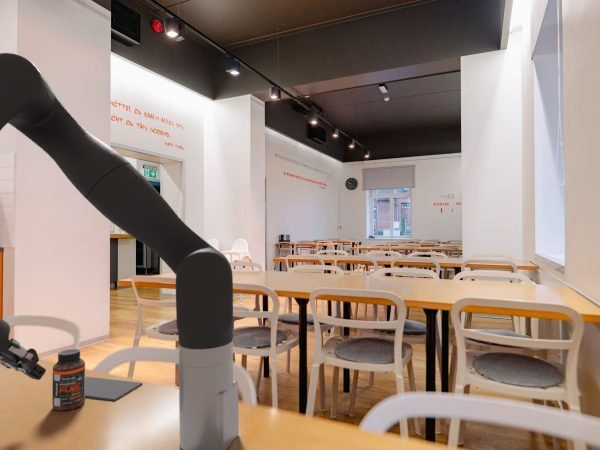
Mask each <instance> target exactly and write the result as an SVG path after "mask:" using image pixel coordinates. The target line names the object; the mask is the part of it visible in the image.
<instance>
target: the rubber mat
mask: <svg viewBox="0 0 600 450" xmlns="http://www.w3.org/2000/svg"><path fill="white" fill-rule="evenodd" d="M142 385H143V382H138V381H130V380H129V381H128V380H121V379H110V378H102V377H94V376H93V377H92V376H91V377H90V376H85V398H88V399H96V400H104V401H112V402H116V401H117V400H119V399H120V398H123V397H124V396H127V395H128V394H129V393H131V392H133V391H134V390H136V389H137V388H139V387H141V386H142Z"/></svg>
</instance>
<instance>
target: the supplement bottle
mask: <svg viewBox="0 0 600 450" xmlns="http://www.w3.org/2000/svg"><path fill="white" fill-rule="evenodd" d="M85 377H86V362H85V360H84V359H82V358H81V350H80V349H77V348H74V349H73V348H70V349H65V350H62V351H61V350H60V351H59V352H58V354H57V362H55V363H54V365H53V366H52V402H51V403H52V408H53V410H55V411H59V412H62V411H63V412H64V411H70V410H73V409H77V408H79V407H81V406H82V405H83V404H84V403H85V402H86V397H85Z"/></svg>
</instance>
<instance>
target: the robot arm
mask: <svg viewBox="0 0 600 450" xmlns="http://www.w3.org/2000/svg"><path fill="white" fill-rule="evenodd" d="M7 124H9V125H10V126H12V127H13V128H14V129H16V130H17V131H19V132H20V133H21V134H22V135H24V136H26V137H27V139H30V141H32V142H33V143H34V144H35V145H36V146H38V147H39V148H40V149H41V150H43V151H44V152H45V153H46V154H47V155H48V156H49V157H50V158H51V159H52V160H53V161H54V163H56V165H57V167H59V169H60V171H62V173H63V174H64V175H65V177H66V178H67V180H69V182H70V183H71V184H72V186H73V187H74V188H75V189H76V190H77V191H78V192H79V193H80V194H81V195H82V196H83V198H85V199H86V200H87V201H88V202H89V203H90V204H91V205H92V206H93V207H94V208H95V209H96V210H97V211H98V212H99V213H101V214H102V216H104V217H105V218H106V219H107V220H109V221H110V222H111V224H114V225H115V226H116V227H118V228H119V229H120V230H122V231H124V232H125V233H127V234H128V235H130V236H131V237H132V238H134V239H135V240H137V241H138V242H141V243H142V244H143V245H145V246H146V247H148V248H149V249H150V250H152V252H154V253H155V254H156V255H157V256H158V257H159V258H160V259H161V260H162V261H163V262H164V263H165V264H166V265H167V266H168V268H169V269H170V270H171V271H172V272H173V274H175V311H176V313H175V314H176V318H175V319H176V328H177V333H178V334H177V336H178V391H179V392H178V400H179V401H178V402H179V403H178V405H179V418H178V419H179V446H180V448H181V449H182V450H227V449H228V448H229V447H230V445H231V444H232V443H233V442H234V441H235V439H236V438H237V437H238V436H239V434H240V433H239V431H240V430H239V429H240V428H239V426H240V425H239V420H240V417H239V381H237V380H234V279H233V278H234V275H233V270H232V269H233V268H232V266H231V263H230V261H229V259H228V258H227V257H226V256H225V254H223V253H222V252H221V251H220V250H218V249H217V248H215V247H214V246H212V245H211V244H210V243H208V242H207V241H206V240H205V239H203V238H202V236H200V235H198V234H197V233H196V232H195V231H194V230H192V229H191V228H190V227H189V226H188V225H187V224H186V223H185V222H184V221H183V220H182V219H181V218H180V216H179V215H178V214H177V213H176V212H175V210H174V209H173V208H172V207H171V206H170V204H169V203H168V202H167V200H165V198H164V197H163V196H162V195H161V193H160V192H158V190H157V189H156V188H155V187H154V186H153V185H152V184H151V182H150V181H149V180H148V179H147V178H146V177H145V176H143V174H142V173H140V172H139V170H138V169H137V168H135V166H134V165H133V164H131V162H129V160H127V159H126V158H125V157H124V156H123V155H121V154H120V153H119V152H118V151H116V150H115V149H114V148H112V147H111V146H109V145H108V144H106V143H105V142H103V141H102V140H100V139H99V138H97V137H95V136H94V135H93V134H92V133H90V132H89V131H87V129H86V128H84V126H82V125H81V124H80V123H79V122H78V121H77V119H76V118H74V116H73V115H72V114H71V113H70V111H69V110H68V109H67V108H66V107H65V105H63V103H62V102H61V101H60V99H59V98H58V97H57V96H56V94H55V92H54V91H53V89H52V88H51V85H49V83H48V81H47V80H46V78H45V77H44V75H43V74H42V72H41V71H40V70H39V68H38V67H37V66H36V65H35V64H34V62H32V61H31V60H29V59H28V58H27V57H24V56H22V55H19V54H17V53H11V52H2V53H1V52H0V131H1V130H2V129H3V128H4V127H5V126H7ZM10 333H11V327H10V324H9V322H7V321H6V320H4V319H3V318H2V317H0V366H1V367H3V368H4V367H5V369H10V370H11V369H13V370H14V372H21V373H22V374H24V375H26V376H27V377H29V378H30V379H32V380H37V381H40V380H41V379H42V378H43V376H44V375H45V373H46V371H47V369H46V368H45V367H43V366H41V364H39V363H38V362H39V361H40V357H39V354H38V352H37V350H36V349H35V348H29V349H26V348H24V347H23V346H22V345H21V343H20V342H19V341H18V340H16V339H14V338H10Z"/></svg>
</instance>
